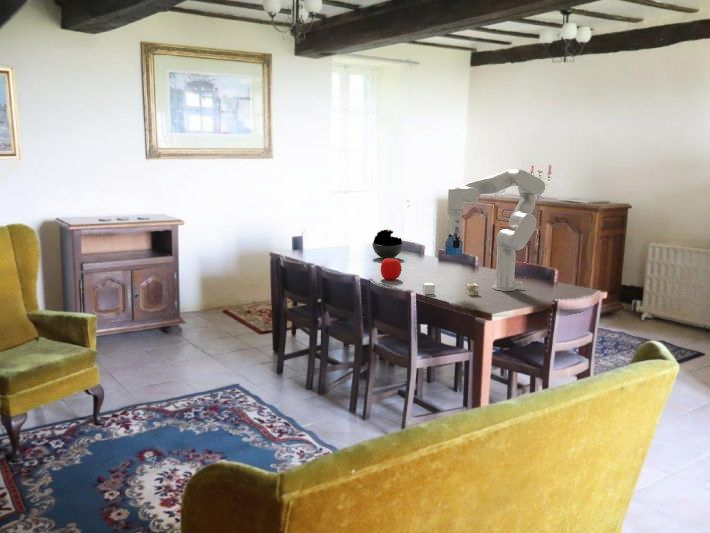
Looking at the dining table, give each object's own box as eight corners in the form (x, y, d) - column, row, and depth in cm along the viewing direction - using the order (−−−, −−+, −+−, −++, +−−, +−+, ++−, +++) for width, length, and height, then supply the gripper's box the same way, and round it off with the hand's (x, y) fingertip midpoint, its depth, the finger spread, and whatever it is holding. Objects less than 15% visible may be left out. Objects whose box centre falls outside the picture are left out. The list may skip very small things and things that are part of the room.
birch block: (475, 292, 327) (475, 283, 326) (478, 295, 322) (478, 285, 321) (465, 293, 327) (466, 283, 326) (468, 295, 322) (468, 285, 321)
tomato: (383, 276, 362) (384, 254, 360) (403, 278, 358) (404, 256, 356) (377, 281, 351) (377, 258, 348) (397, 282, 347) (398, 260, 344)
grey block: (432, 292, 327) (432, 282, 326) (434, 294, 322) (434, 285, 321) (422, 292, 326) (423, 282, 325) (424, 294, 321) (425, 285, 320)
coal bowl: (389, 255, 433) (390, 227, 429) (408, 259, 417) (409, 231, 413) (366, 257, 421) (366, 229, 418) (384, 262, 405) (385, 233, 402)
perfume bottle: (451, 252, 327) (452, 229, 324) (462, 254, 323) (463, 230, 321) (445, 254, 322) (445, 230, 320) (455, 255, 318) (456, 231, 316)
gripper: (467, 214, 310) (465, 249, 314) (457, 210, 327) (456, 243, 331) (452, 214, 310) (450, 249, 313) (443, 210, 326) (442, 243, 330)
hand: (453, 246), depth 322 cm, fingers closed on perfume bottle, 9 cm apart
